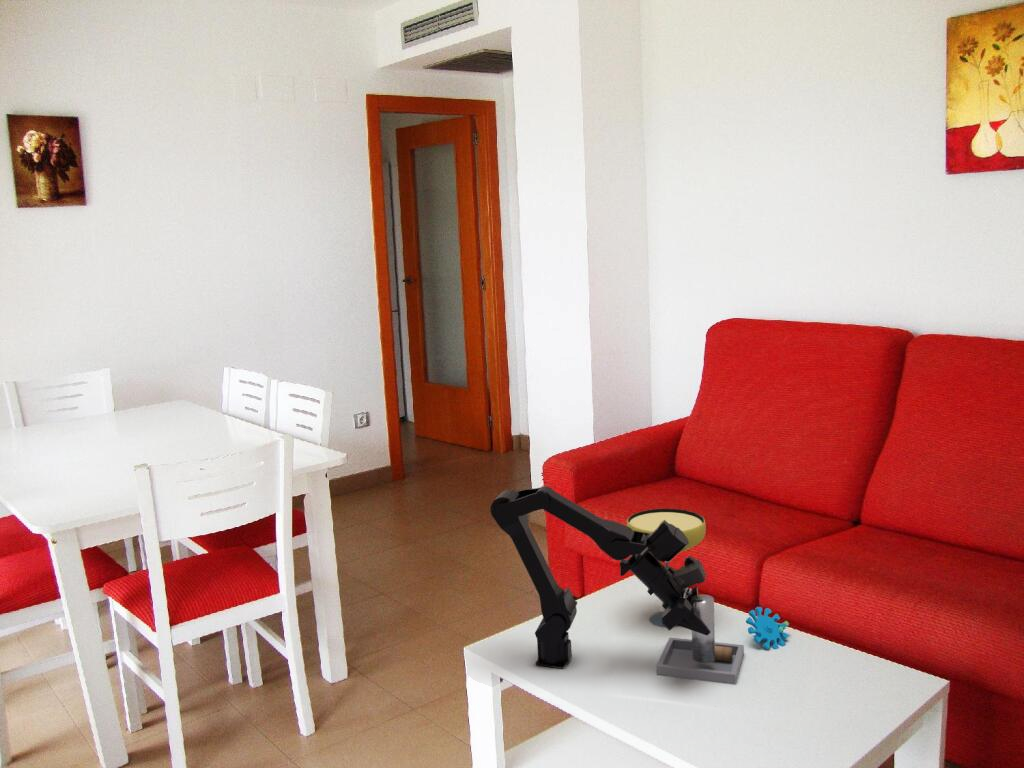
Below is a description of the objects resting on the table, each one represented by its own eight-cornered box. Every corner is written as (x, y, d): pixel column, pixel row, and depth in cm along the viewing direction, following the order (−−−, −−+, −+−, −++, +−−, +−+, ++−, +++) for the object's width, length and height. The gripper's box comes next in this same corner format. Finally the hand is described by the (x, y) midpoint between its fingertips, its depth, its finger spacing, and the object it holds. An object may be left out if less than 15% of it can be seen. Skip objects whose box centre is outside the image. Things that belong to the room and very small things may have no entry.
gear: (760, 650, 203) (742, 607, 209) (745, 661, 208) (728, 618, 213) (800, 645, 208) (781, 603, 214) (785, 656, 212) (767, 614, 218)
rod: (697, 661, 203) (696, 651, 201) (699, 650, 205) (698, 640, 204) (731, 665, 201) (730, 655, 199) (732, 653, 203) (732, 644, 201)
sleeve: (696, 663, 196) (694, 604, 193) (689, 654, 200) (688, 595, 198) (717, 661, 196) (716, 602, 194) (711, 652, 200) (709, 593, 198)
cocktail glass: (669, 600, 236) (667, 503, 232) (723, 623, 221) (722, 520, 217) (613, 620, 226) (610, 519, 222) (666, 645, 211) (664, 538, 207)
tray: (656, 677, 197) (656, 665, 197) (669, 648, 210) (669, 637, 210) (735, 686, 192) (735, 674, 191) (743, 656, 204) (743, 645, 204)
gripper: (677, 566, 186) (736, 623, 185) (685, 535, 204) (739, 586, 203) (638, 602, 190) (695, 658, 189) (649, 568, 207) (702, 619, 206)
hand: (709, 628), depth 197 cm, fingers closed on sleeve, 5 cm apart
